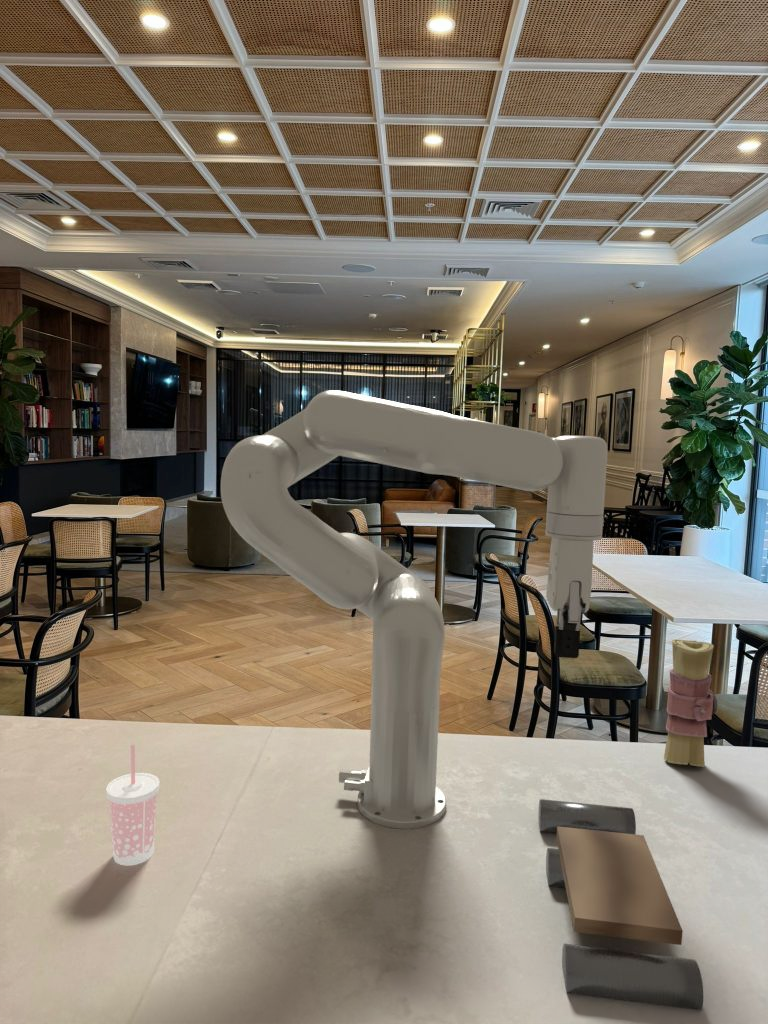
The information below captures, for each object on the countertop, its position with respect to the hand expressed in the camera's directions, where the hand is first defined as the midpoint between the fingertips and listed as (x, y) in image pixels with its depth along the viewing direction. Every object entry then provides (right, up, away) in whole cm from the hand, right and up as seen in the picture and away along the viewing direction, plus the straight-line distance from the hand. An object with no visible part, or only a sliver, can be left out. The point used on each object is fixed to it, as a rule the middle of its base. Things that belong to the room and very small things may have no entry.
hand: (565, 655), depth 96 cm
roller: (-2, -24, -31) cm, 39 cm away
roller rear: (+1, -21, -5) cm, 21 cm away
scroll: (+25, -21, +17) cm, 37 cm away
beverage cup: (-56, -22, -12) cm, 62 cm away
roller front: (0, -22, -16) cm, 27 cm away
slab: (-1, -20, -22) cm, 30 cm away
